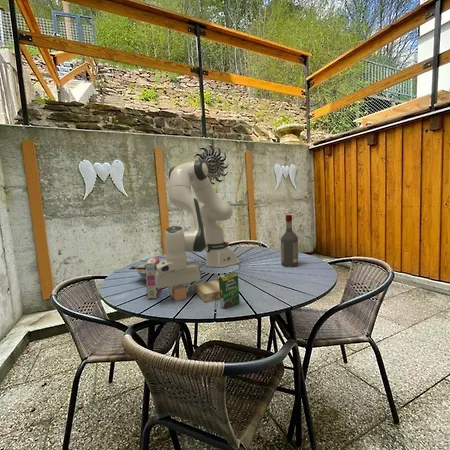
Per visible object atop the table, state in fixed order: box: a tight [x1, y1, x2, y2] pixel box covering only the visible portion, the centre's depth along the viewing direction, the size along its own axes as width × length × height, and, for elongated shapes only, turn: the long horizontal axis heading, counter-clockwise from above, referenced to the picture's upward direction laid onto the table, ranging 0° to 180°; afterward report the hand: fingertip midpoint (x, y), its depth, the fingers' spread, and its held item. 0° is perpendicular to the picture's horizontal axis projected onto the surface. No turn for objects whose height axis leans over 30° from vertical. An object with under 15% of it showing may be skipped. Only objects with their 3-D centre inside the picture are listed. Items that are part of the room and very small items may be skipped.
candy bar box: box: [144, 257, 163, 300], centre depth 123 cm, size 11×5×16 cm, turn 5°
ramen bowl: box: [128, 260, 164, 279], centre depth 146 cm, size 25×23×8 cm
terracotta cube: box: [171, 284, 187, 302], centre depth 118 cm, size 5×5×5 cm
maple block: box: [193, 279, 220, 304], centre depth 121 cm, size 12×14×4 cm
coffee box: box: [218, 271, 241, 310], centre depth 107 cm, size 8×3×13 cm, turn 123°
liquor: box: [280, 214, 299, 268], centre depth 157 cm, size 9×9×30 cm
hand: (179, 293), depth 118 cm, fingers closed on terracotta cube, 5 cm apart
